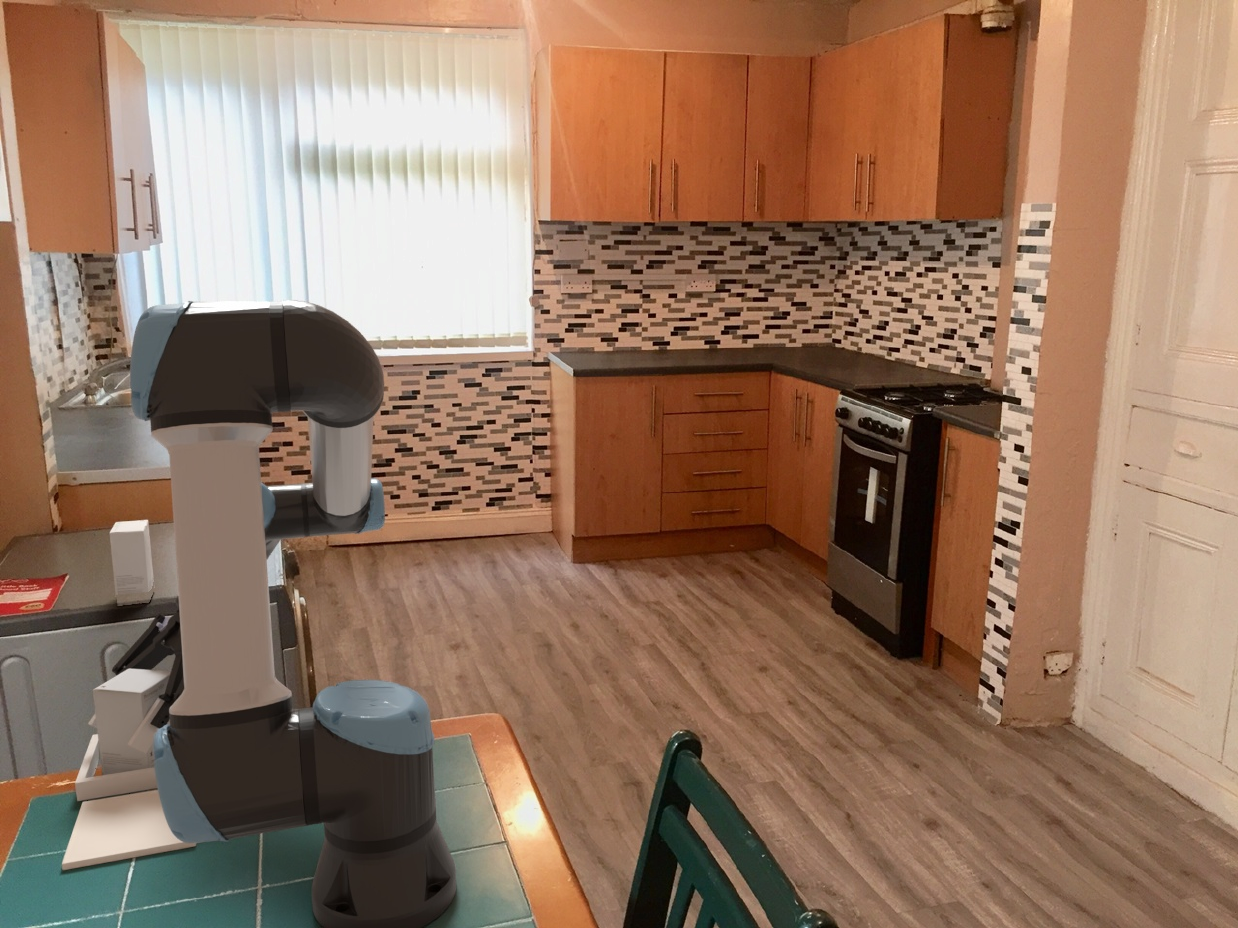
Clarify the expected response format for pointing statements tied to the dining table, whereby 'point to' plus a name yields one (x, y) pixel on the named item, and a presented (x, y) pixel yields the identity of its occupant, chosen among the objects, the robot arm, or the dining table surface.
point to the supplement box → (126, 717)
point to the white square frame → (109, 777)
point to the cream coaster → (120, 830)
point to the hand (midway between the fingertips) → (116, 738)
